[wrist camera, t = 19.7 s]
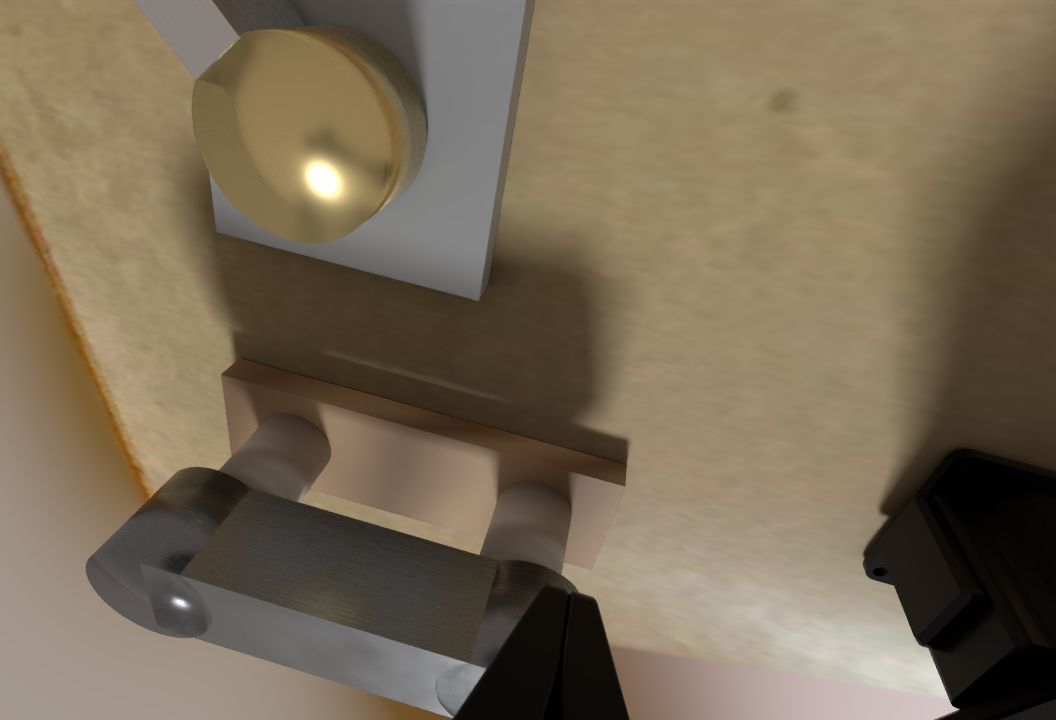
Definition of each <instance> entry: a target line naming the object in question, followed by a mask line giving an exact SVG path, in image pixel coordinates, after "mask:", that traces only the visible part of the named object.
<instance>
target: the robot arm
mask: <svg viewBox="0 0 1056 720" xmlns="http://www.w3.org/2000/svg"><path fill="white" fill-rule="evenodd" d="M966 462H969V463H968V464H966V465H964V466H960V465H961V464H963V463H966ZM863 567H864V570H865V573H866V575H867V576H868V577H869V578H871V579H873V580H876V581H880V582H883V583H887V584H890V585H894V587H895V589H896V592H897V594H898V597H899V599H900V602H901V604H902V607H903V609H904V612H905V614H906V617H907V620H908V622H909V625H910V627H911V630H912V632H913V635H914V637H915V639H916V641H917V642H918V644H919V645H921V646H923V647H927V648H929V651H930V653H931V656H932V658H933V661H934V663H935V665H936V668H937V670H938V673H939V675H940V678H941V680H942V683H943V685H944V687H945V690H946V692H947V695H948V697H949V700H950V702H951V704H952V706H954V707H955V708H958V709H960V710H957V711H955V712H952V713H950V714H947V715H945V716H942V717H940V718H937V719H935V720H1056V472H1054V471H1051V470H1047V469H1043V468H1039V467H1035V466H1032V465H1028V464H1024V463H1020V462H1017V461H1013V460H1009V459H1005V458H1001V457H998V456H994V455H990V454H986V453H983V452H979V451H975V450H971V449H958V450H955V451H953V452H951V453H950V454H948V455H947V456H946V457H945V459H944V460H943V461H942V462H941V464H940V465H939V466H938V467H937V469H936V470H935V471H934V472H933V474H932V475H931V476H930V477H929V479H928V480H927V481H926V482H925V484H924V485H923V486H922V488H921V489H920V490H919V491H918V493H917V494H916V495H915V496H914V498H913V499H911V501H910V502H909V503H908V504H907V506H906V507H905V508H904V509H903V511H902V512H901V513H900V514H899V516H898V517H897V518H896V519H895V521H894V522H893V523H892V525H891V526H890V527H889V528H888V530H887V531H886V532H885V533H884V535H883V536H882V537H881V538H880V540H879V541H878V543H877V544H876V545H875V547H874V548H873V549H872V550H871V552H870V553H869V554H868V555H867V557H866V558H865V559H864V561H863ZM878 567H879V568H878ZM452 720H630V719H629V715H628V712H627V708H626V704H625V700H624V697H623V693H622V690H621V686H620V682H619V679H618V675H617V672H616V668H615V664H614V661H613V657H612V654H611V650H610V646H609V643H608V639H607V635H606V632H605V628H604V624H603V621H602V617H601V614H600V610H599V606H598V603H597V601H596V600H595V599H594V598H593V597H591V596H588V595H585V594H581V593H578V592H574V591H573V592H571V593H570V594H569V592H568V590H567V589H565V588H562V587H559V586H555V585H552V584H549V583H546V584H544V585H543V586H542V587H541V589H540V590H539V591H538V593H537V594H536V596H535V597H534V599H533V600H532V602H531V603H530V605H529V606H528V608H527V609H526V611H525V612H524V614H523V615H522V617H521V618H520V620H519V621H518V623H517V624H516V626H515V627H514V629H513V630H512V632H511V633H510V634H509V636H508V637H507V639H506V640H505V642H504V643H503V645H502V646H501V648H500V649H499V651H498V652H497V654H496V655H495V657H494V658H493V660H492V661H491V663H490V664H489V666H488V667H487V669H486V670H485V672H484V673H483V675H482V676H481V677H480V679H479V680H478V682H477V683H476V685H475V686H474V688H473V689H472V691H471V692H470V694H469V695H468V697H467V698H466V700H465V701H464V703H463V704H462V706H461V707H460V709H459V710H458V712H457V713H456V715H455V716H454V717H453V719H452Z"/></svg>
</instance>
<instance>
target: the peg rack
mask: <svg viewBox="0 0 1056 720" xmlns="http://www.w3.org/2000/svg"><path fill="white" fill-rule="evenodd" d="M221 377H222V385H223V393H224V400H225V408H226V416H227V423H228V431H229V439H230V446H231V454H232V457H231V458H230V459H229V460H228V461H227V462H226V463H225V464H224V465H223V466H222V467H221V469H220V470H219V471H220V472H223V473H226V474H228V475H230V476H232V477H234V478H236V479H238V480H240V481H241V482H243V483H244V484H246V485H247V486H248V487H250V488H251V489H255V490H258V491H262V492H265V493H268V494H272V495H275V496H279V497H282V498H285V499H289V500H292V501H296V502H299V503H300V502H301V500H302V499H303V498H304V496H305V495H306V493H307V492H308V491H309V489H311V490H315V491H318V492H322V493H325V494H329V495H332V496H336V497H339V498H343V499H346V500H350V501H353V502H356V503H360V504H363V505H367V506H370V507H374V508H377V509H381V510H384V511H388V512H391V513H395V514H398V515H402V516H405V517H409V518H412V519H416V520H419V521H423V522H426V523H429V524H433V525H436V526H440V527H443V528H447V529H450V530H454V531H457V532H461V533H464V534H468V535H471V536H475V537H478V538H482V539H485V540H484V543H483V546H482V549H481V552H480V556H484V557H487V558H490V559H494V560H497V561H503V560H521V561H527V562H532V563H536V564H539V565H542V566H545V567H547V568H550V569H552V570H554V571H556V572H557V573H559V574H561V575H562V569H563V563H564V562H565V563H569V564H572V565H575V566H579V567H582V568H586V569H589V570H592V569H593V567H594V564H595V562H596V559H597V557H598V554H599V552H600V549H601V547H602V544H603V542H604V539H605V537H606V534H607V531H608V529H609V526H610V524H611V521H612V519H613V516H614V514H615V511H616V509H617V506H618V504H619V501H620V499H621V496H622V494H623V491H624V488H625V482H626V469H627V465H625V464H621V463H618V462H614V461H610V460H607V459H603V458H599V457H596V456H592V455H589V454H585V453H581V452H578V451H574V450H570V449H567V448H563V447H560V446H556V445H552V444H549V443H545V442H541V441H538V440H534V439H531V438H527V437H523V436H520V435H516V434H512V433H509V432H505V431H502V430H498V429H494V428H491V427H487V426H483V425H480V424H476V423H472V422H469V421H465V420H462V419H458V418H454V417H451V416H447V415H443V414H440V413H436V412H433V411H429V410H425V409H422V408H418V407H414V406H411V405H407V404H404V403H400V402H396V401H393V400H389V399H385V398H382V397H378V396H374V395H371V394H367V393H364V392H360V391H356V390H353V389H349V388H345V387H342V386H338V385H335V384H331V383H327V382H324V381H320V380H316V379H313V378H309V377H306V376H302V375H298V374H295V373H291V372H287V371H284V370H280V369H277V368H273V367H269V366H266V365H262V364H258V363H255V362H251V361H247V360H244V359H239V360H237V361H236V362H235V363H234V364H233V365H232V366H230V367H229V368H228V369H227V370H226V371H225V372H223V373H222V374H221Z"/></svg>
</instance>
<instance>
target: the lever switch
mask: <svg viewBox="0 0 1056 720" xmlns="http://www.w3.org/2000/svg"><path fill="white" fill-rule="evenodd" d="M133 1H134V2H135V3H136V5H137V6H138V7H139V8H140V10H141V11H142V12H143V13H144V15H145V16H146V17H147V18H148V20H149V21H150V22H151V24H152V25H153V26H154V27H155V29H156V30H157V31H158V32H159V34H160V35H161V36H162V37H163V39H164V40H165V41H166V43H167V44H168V45H169V46H170V48H171V49H172V50H173V51H174V53H175V54H176V55H177V56H178V58H179V59H180V60H181V62H182V63H183V64H184V65H185V67H186V68H187V69H188V70H189V72H190V73H191V74H192V75H193V77H194V78H195V79H196V81H195V86H194V90H193V97H192V121H193V127H194V133H195V137H196V141H197V145H198V148H199V151H200V153H201V156H202V158H203V161H204V163H205V165H206V167H207V169H208V171H209V173H210V175H211V176H212V178H213V180H214V181H215V183H216V184H217V186H218V187H219V189H220V190H221V191H222V193H223V194H224V195H225V197H226V198H227V199H228V200H229V201H230V202H231V203H232V204H233V205H234V207H235V208H237V209H238V210H239V211H240V212H241V213H242V214H243V215H244V216H245V217H247V218H248V219H249V220H251V221H252V222H253V223H255V224H256V225H258V226H259V227H261V228H263V229H264V230H266V231H268V232H270V233H272V234H274V235H276V236H279V237H282V238H284V239H287V240H291V241H295V242H300V243H311V244H314V243H326V242H331V241H335V240H337V239H340V238H343V237H345V236H346V235H348V234H350V233H352V232H353V231H354V230H356V229H357V228H358V227H360V226H361V225H362V224H364V223H365V222H366V221H368V220H369V219H370V218H371V217H373V216H374V215H375V214H377V213H378V212H379V211H381V210H382V209H383V208H385V207H386V206H387V205H388V204H390V203H391V202H392V201H394V200H395V199H396V198H398V197H399V196H400V195H401V194H403V193H404V192H405V191H406V190H407V189H408V188H409V186H410V185H411V184H412V183H413V181H414V180H415V178H416V177H417V175H418V172H419V170H420V168H421V166H422V162H423V159H424V155H425V150H426V138H427V131H426V120H425V115H424V110H423V106H422V103H421V100H420V97H419V94H418V92H417V90H416V88H415V85H414V83H413V82H412V80H411V78H410V76H409V75H408V73H407V72H406V70H405V69H404V67H403V66H402V65H401V63H400V62H399V61H398V60H397V59H396V58H395V57H394V55H393V54H392V53H391V52H390V51H389V50H387V49H386V48H385V47H384V46H383V45H382V44H380V43H379V42H377V41H376V40H374V39H373V38H371V37H370V36H368V35H366V34H364V33H362V32H360V31H358V30H355V29H352V28H349V27H345V26H339V25H313V26H306V25H305V24H304V22H303V21H302V19H301V18H300V16H299V15H298V14H297V12H296V11H295V9H294V8H293V6H292V5H291V3H290V2H289V1H288V0H133Z"/></svg>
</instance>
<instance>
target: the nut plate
mask: <svg viewBox="0 0 1056 720" xmlns="http://www.w3.org/2000/svg"><path fill="white" fill-rule="evenodd" d="M288 1H289V2H290V3H291V5H292V6H293V8H294V9H295V11H296V12H297V14H298V15H299V16H300V18H301V19H302V21H303V22H304V24H305V25H306V26H313V25H339V26H345V27H349V28H352V29H355V30H358V31H360V32H362V33H364V34H366V35H368V36H370V37H371V38H373V39H374V40H376V41H377V42H379V43H380V44H382V45H383V46H384V47H385V48H386V49H387V50H389V51H390V52H391V53H392V54H393V55H394V57H395V58H396V59H397V60H398V61H399V62H400V63H401V65H402V66H403V67H404V69H405V70H406V72H407V73H408V75H409V76H410V78H411V80H412V82H413V83H414V85H415V88H416V90H417V92H418V94H419V97H420V100H421V103H422V106H423V110H424V115H425V120H426V131H427V138H426V150H425V155H424V159H423V162H422V166H421V168H420V170H419V172H418V175H417V177H416V178H415V180H414V181H413V183H412V184H411V185H410V186H409V188H408V189H407V190H406V191H405V192H404V193H403V194H401V195H400V196H399V197H398V198H396V199H395V200H394V201H392V202H391V203H390V204H388V205H387V206H386V207H385V208H383V209H382V210H381V211H379V212H378V213H377V214H375V215H374V216H373V217H371V218H370V219H369V220H368V221H366V222H365V223H364V224H362V225H361V226H360V227H358V228H357V229H356V230H354V231H353V232H352V233H350V234H348V235H346V236H345V237H343V238H340V239H337V240H335V241H331V242H326V243H314V244H311V243H300V242H295V241H291V240H287V239H284V238H282V237H279V236H276V235H274V234H272V233H270V232H268V231H266V230H264V229H263V228H261V227H259V226H258V225H256V224H255V223H253V222H252V221H251V220H249V219H248V218H247V217H245V216H244V215H243V214H242V213H241V212H240V211H239V210H238V209H237V208H235V207H234V205H233V204H232V203H231V202H230V201H229V200H228V199H227V198H226V197H225V195H224V194H223V193H222V191H221V190H220V189H219V187H218V186H217V184H216V183H215V181H214V180H213V178H212V176H211V175H210V173H209V175H210V183H211V192H212V200H213V209H214V217H215V226H216V232H217V233H221V234H225V235H229V236H232V237H236V238H240V239H244V240H248V241H251V242H255V243H259V244H263V245H267V246H271V247H274V248H278V249H282V250H286V251H290V252H293V253H297V254H301V255H305V256H309V257H312V258H316V259H320V260H324V261H328V262H332V263H335V264H339V265H343V266H347V267H351V268H354V269H358V270H362V271H366V272H370V273H373V274H377V275H381V276H385V277H389V278H392V279H396V280H400V281H404V282H408V283H412V284H415V285H419V286H423V287H427V288H431V289H434V290H438V291H442V292H446V293H450V294H453V295H457V296H461V297H465V298H469V299H473V300H476V301H479V300H480V298H481V296H482V295H483V293H484V291H485V290H486V288H487V286H488V283H489V276H490V270H491V264H492V258H493V252H494V246H495V240H496V234H497V228H498V222H499V216H500V210H501V204H502V198H503V192H504V186H505V180H506V174H507V167H508V161H509V155H510V149H511V143H512V137H513V131H514V125H515V119H516V113H517V107H518V101H519V95H520V89H521V83H522V77H523V71H524V64H525V58H526V52H527V46H528V40H529V34H530V28H531V22H532V16H533V10H534V4H535V0H288Z"/></svg>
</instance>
